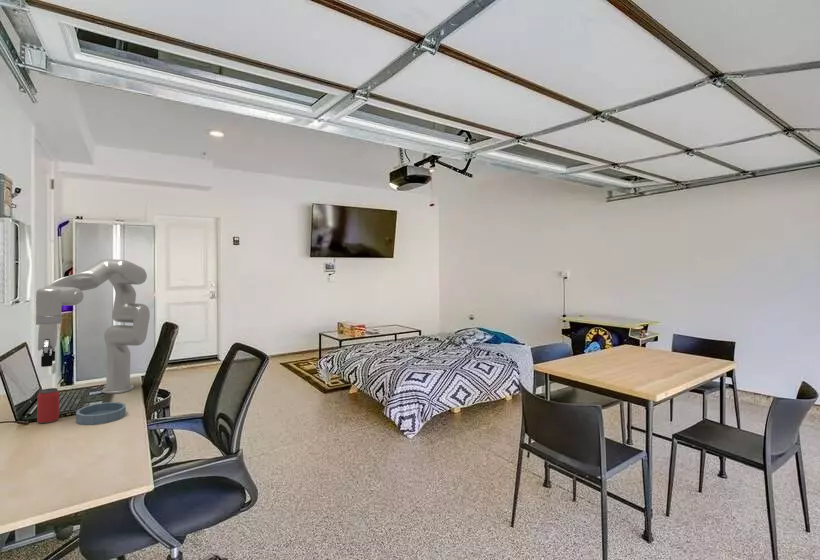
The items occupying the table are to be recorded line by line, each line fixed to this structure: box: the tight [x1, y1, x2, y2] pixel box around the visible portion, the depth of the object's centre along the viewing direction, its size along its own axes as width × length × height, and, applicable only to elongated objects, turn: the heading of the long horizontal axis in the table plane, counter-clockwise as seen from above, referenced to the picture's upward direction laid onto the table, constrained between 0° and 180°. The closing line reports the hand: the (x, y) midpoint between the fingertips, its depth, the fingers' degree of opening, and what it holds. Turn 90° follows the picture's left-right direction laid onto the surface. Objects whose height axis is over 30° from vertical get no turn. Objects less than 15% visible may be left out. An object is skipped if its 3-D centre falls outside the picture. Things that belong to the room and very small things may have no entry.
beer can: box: [36, 387, 60, 424], centre depth 165 cm, size 7×7×12 cm
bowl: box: [75, 401, 127, 426], centre depth 170 cm, size 16×16×4 cm
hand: (48, 363), depth 165 cm, fingers open, 9 cm apart
